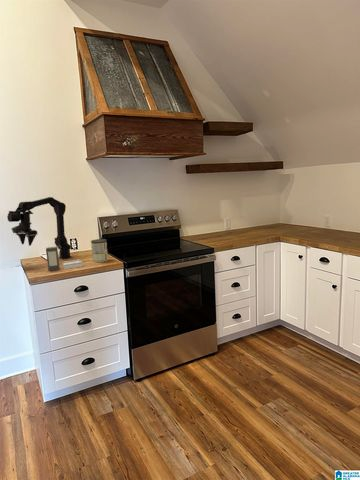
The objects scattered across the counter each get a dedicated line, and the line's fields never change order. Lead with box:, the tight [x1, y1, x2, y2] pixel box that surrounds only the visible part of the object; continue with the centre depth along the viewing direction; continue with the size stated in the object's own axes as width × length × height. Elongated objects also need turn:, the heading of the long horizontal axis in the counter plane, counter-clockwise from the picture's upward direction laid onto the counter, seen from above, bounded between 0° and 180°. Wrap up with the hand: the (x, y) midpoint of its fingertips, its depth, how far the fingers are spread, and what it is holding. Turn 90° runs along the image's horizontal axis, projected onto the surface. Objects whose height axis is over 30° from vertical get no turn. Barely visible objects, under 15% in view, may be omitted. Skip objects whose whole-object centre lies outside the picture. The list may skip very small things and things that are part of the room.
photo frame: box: [45, 246, 60, 272], centre depth 221 cm, size 4×6×14 cm, turn 108°
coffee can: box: [90, 238, 109, 263], centre depth 239 cm, size 10×10×14 cm
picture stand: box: [62, 258, 84, 270], centre depth 228 cm, size 10×11×3 cm
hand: (26, 245), depth 230 cm, fingers open, 9 cm apart
